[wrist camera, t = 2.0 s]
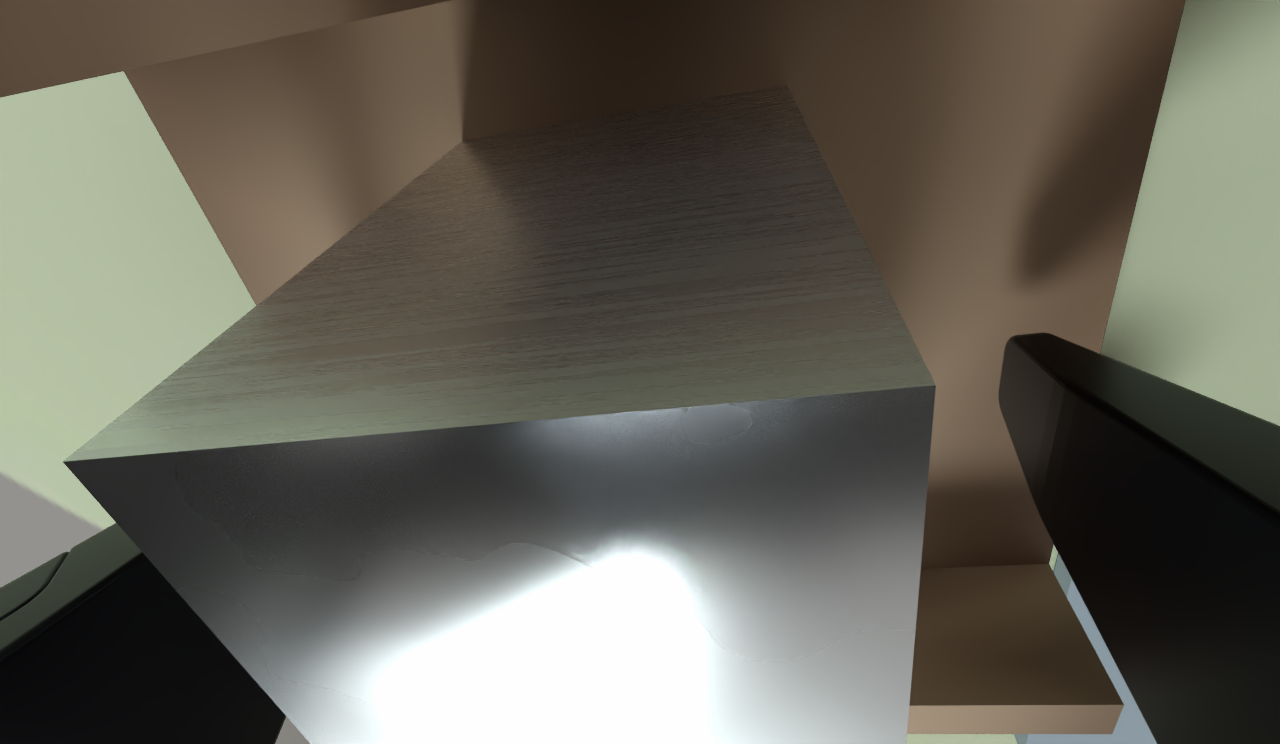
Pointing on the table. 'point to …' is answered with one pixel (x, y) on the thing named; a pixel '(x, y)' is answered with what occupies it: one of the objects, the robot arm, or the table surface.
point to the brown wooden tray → (699, 69)
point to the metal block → (560, 452)
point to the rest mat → (1131, 730)
